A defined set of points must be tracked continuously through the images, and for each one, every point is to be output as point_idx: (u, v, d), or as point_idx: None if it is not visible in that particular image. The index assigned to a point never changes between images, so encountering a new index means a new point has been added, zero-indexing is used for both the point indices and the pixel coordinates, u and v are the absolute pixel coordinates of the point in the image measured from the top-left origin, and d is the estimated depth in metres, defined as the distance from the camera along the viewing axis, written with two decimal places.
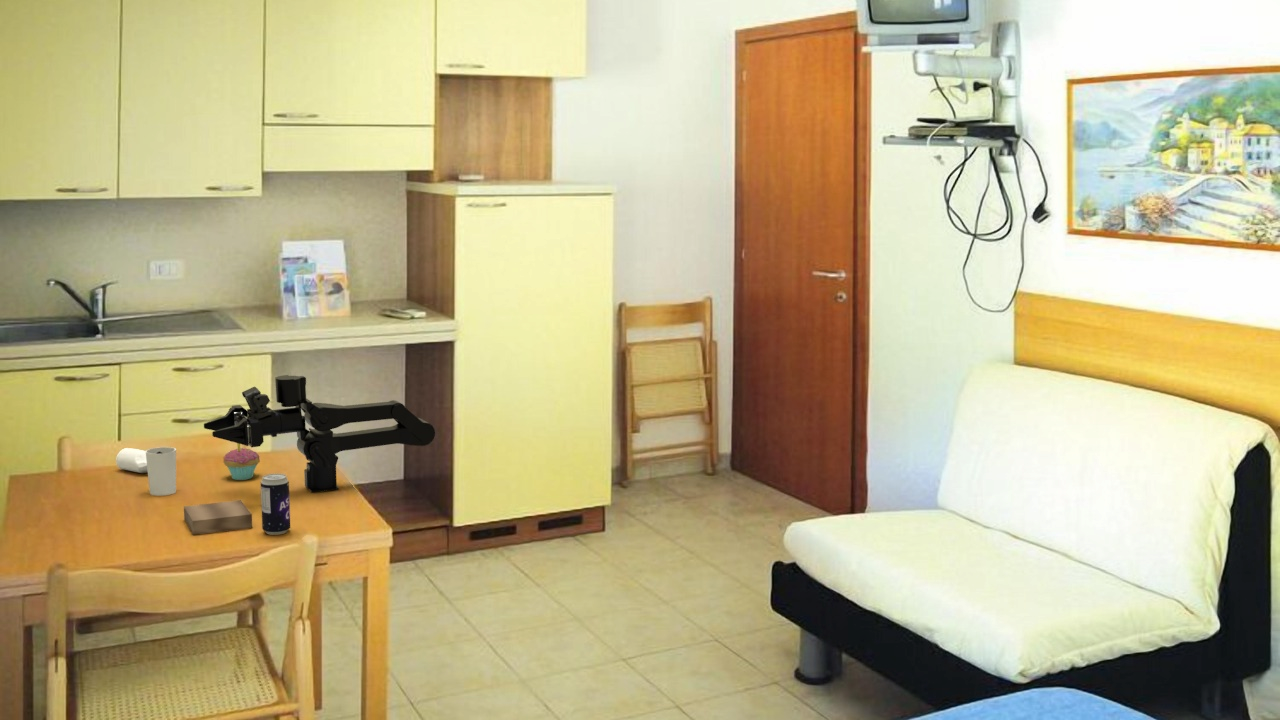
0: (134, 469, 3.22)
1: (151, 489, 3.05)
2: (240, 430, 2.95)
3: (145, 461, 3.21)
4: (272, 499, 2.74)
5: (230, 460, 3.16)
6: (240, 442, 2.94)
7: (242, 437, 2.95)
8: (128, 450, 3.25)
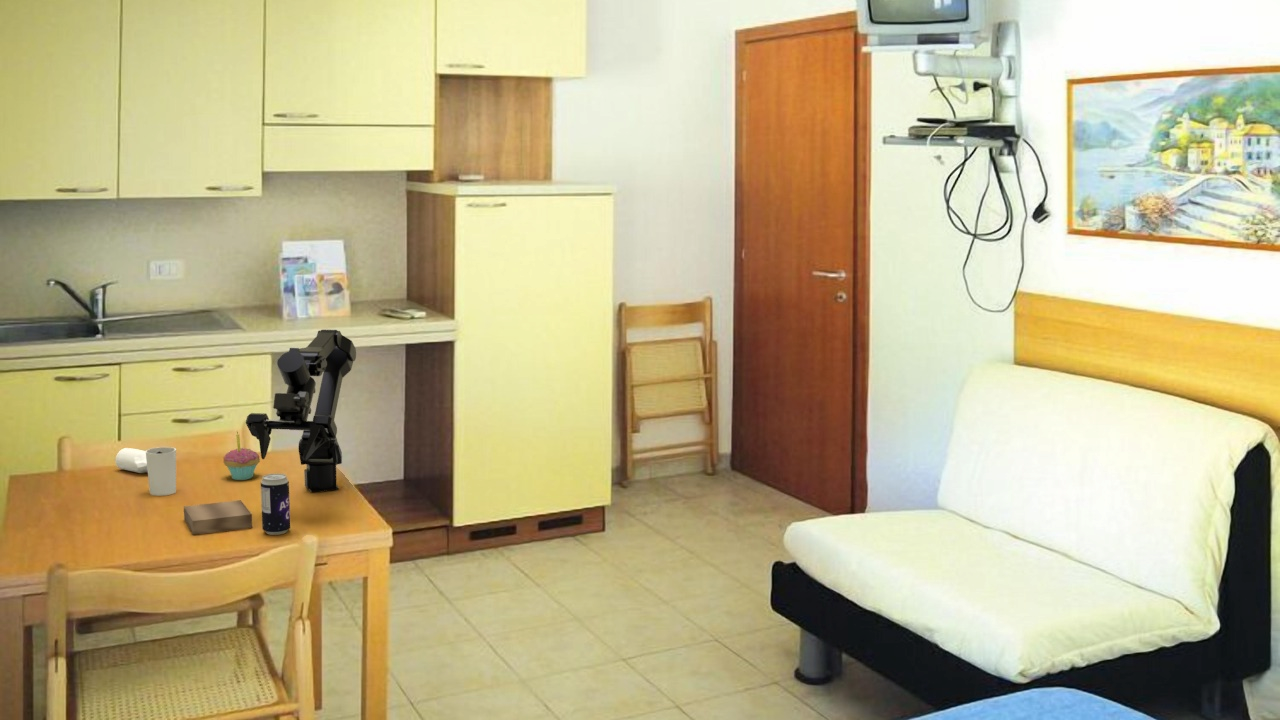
0: (133, 469, 3.22)
1: (151, 489, 3.05)
2: None
3: (144, 461, 3.21)
4: (272, 499, 2.74)
5: (230, 460, 3.16)
6: (321, 443, 2.88)
7: (318, 438, 2.87)
8: (127, 450, 3.25)
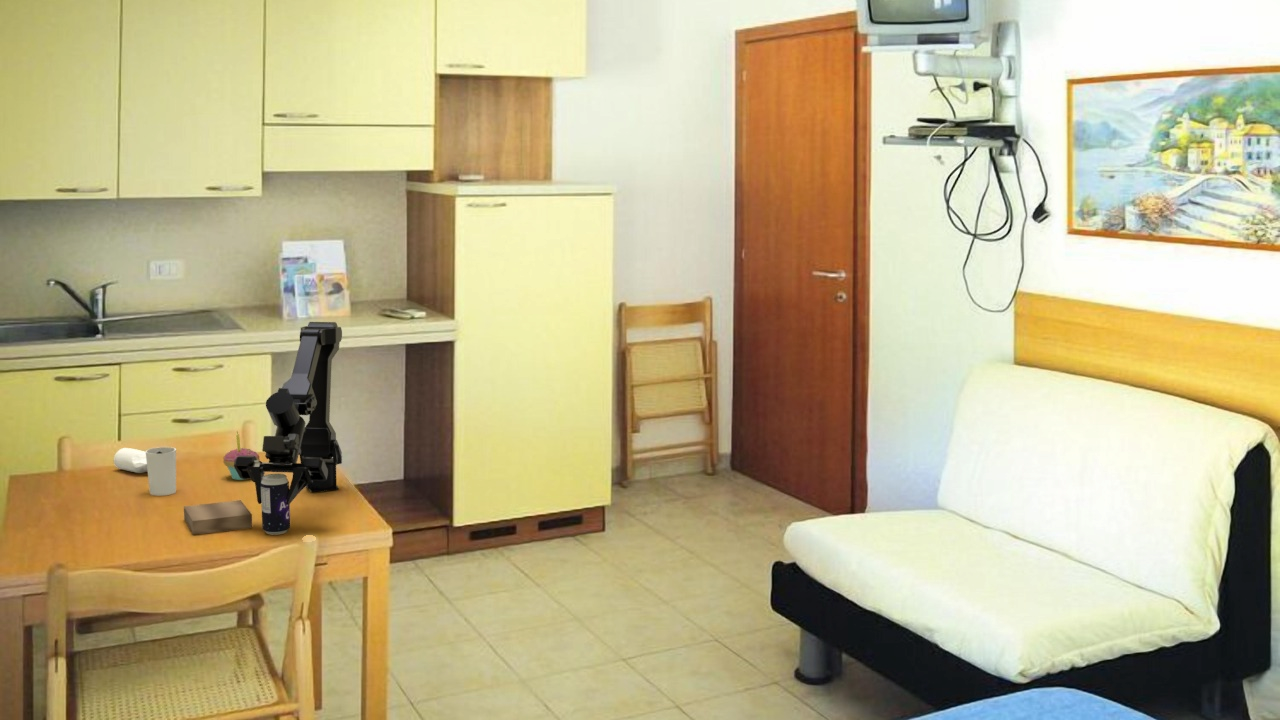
0: (131, 469, 3.22)
1: (151, 489, 3.05)
2: None
3: (142, 461, 3.21)
4: (272, 499, 2.74)
5: (230, 460, 3.16)
6: (304, 486, 2.80)
7: (302, 481, 2.80)
8: (126, 450, 3.25)
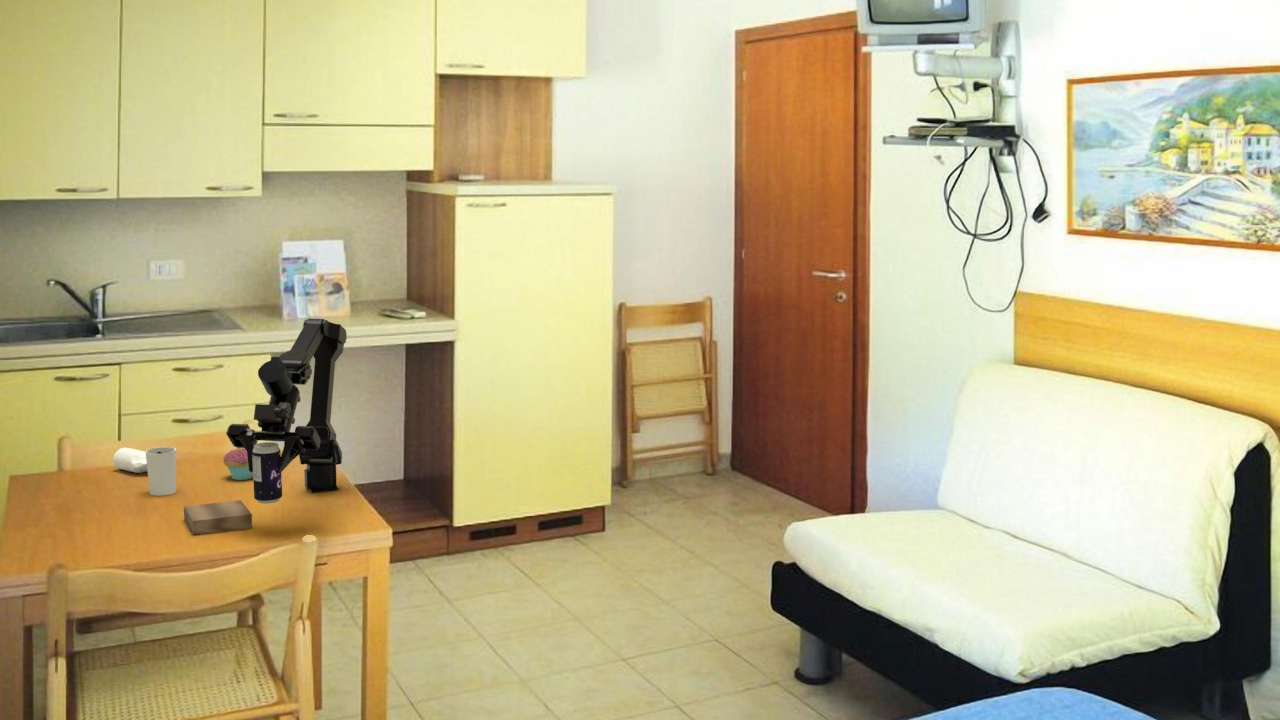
0: (130, 469, 3.22)
1: (151, 489, 3.05)
2: None
3: (141, 461, 3.21)
4: (263, 467, 2.73)
5: (230, 460, 3.16)
6: (296, 455, 2.79)
7: (294, 450, 2.79)
8: (125, 450, 3.25)
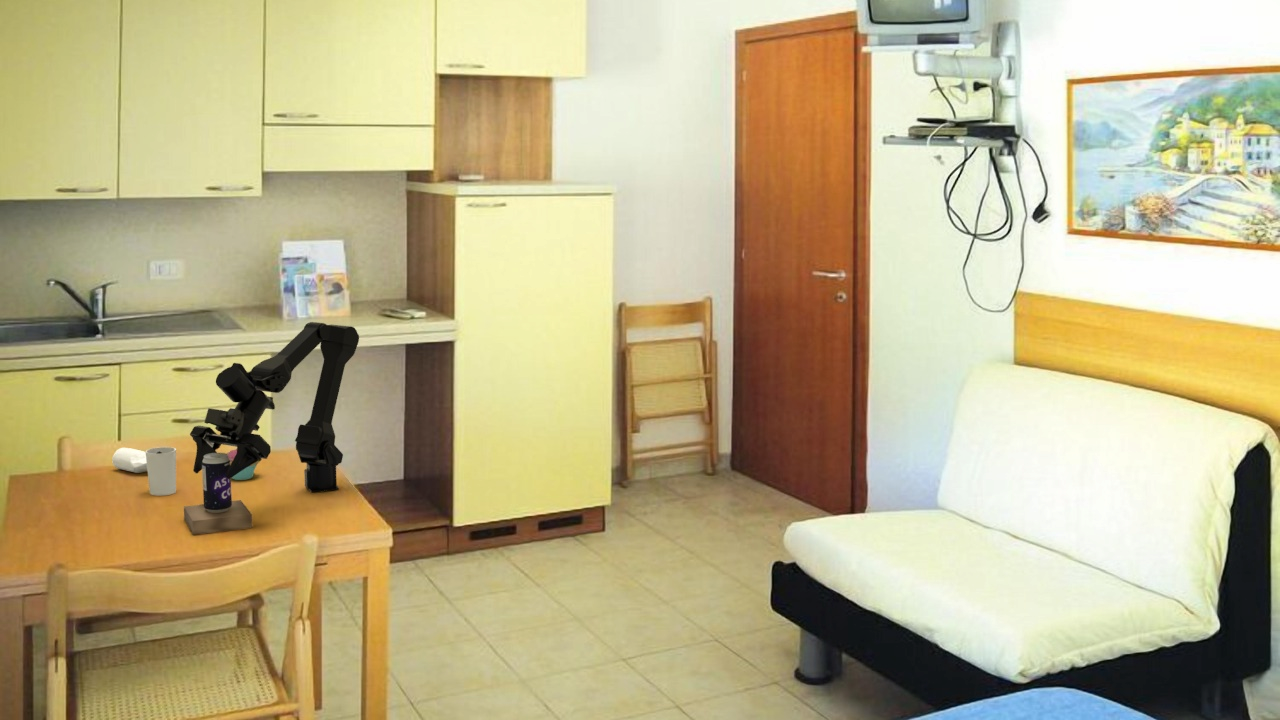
0: (129, 469, 3.22)
1: (151, 489, 3.05)
2: (243, 454, 2.80)
3: (140, 461, 3.21)
4: (207, 477, 2.79)
5: (230, 460, 3.16)
6: (252, 462, 2.81)
7: (249, 457, 2.81)
8: (124, 450, 3.25)
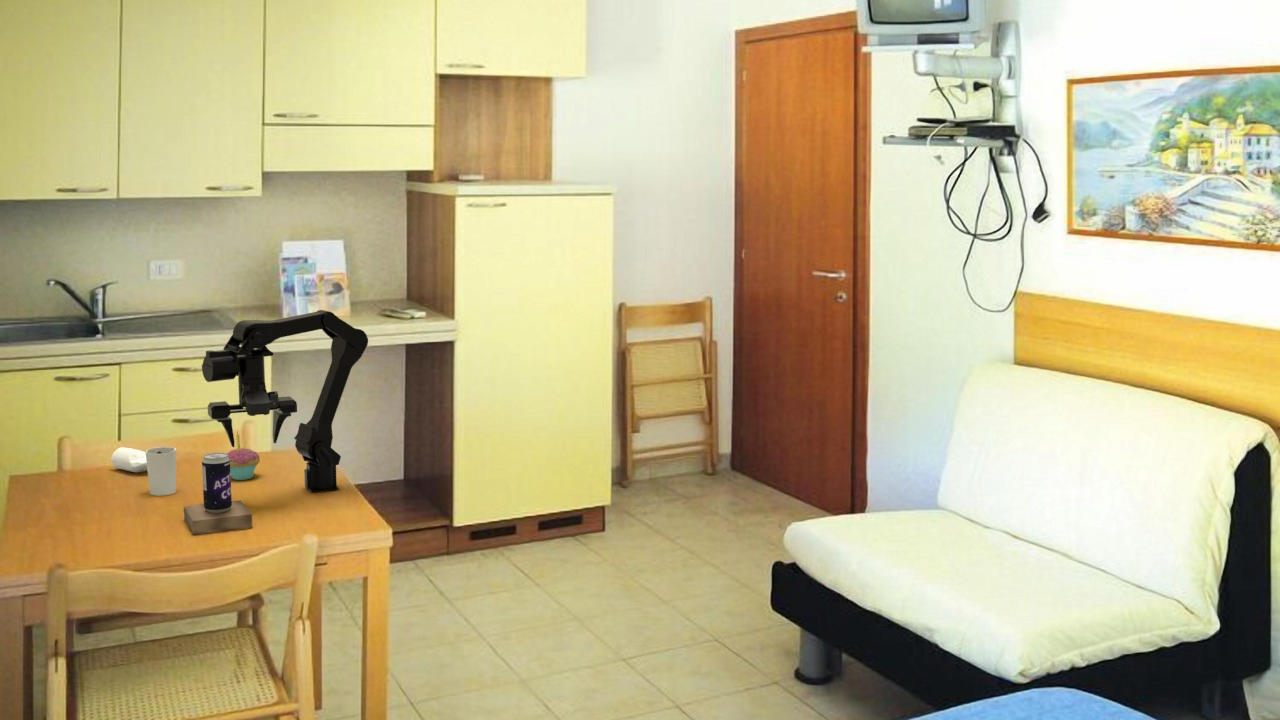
0: (128, 468, 3.22)
1: (151, 489, 3.05)
2: None
3: (139, 461, 3.21)
4: (207, 477, 2.79)
5: (230, 460, 3.16)
6: None
7: None
8: (123, 449, 3.25)
